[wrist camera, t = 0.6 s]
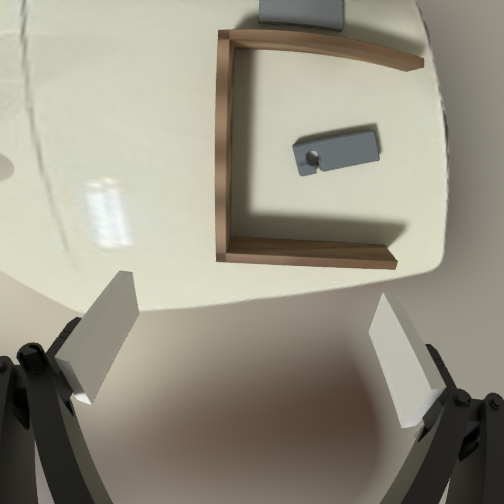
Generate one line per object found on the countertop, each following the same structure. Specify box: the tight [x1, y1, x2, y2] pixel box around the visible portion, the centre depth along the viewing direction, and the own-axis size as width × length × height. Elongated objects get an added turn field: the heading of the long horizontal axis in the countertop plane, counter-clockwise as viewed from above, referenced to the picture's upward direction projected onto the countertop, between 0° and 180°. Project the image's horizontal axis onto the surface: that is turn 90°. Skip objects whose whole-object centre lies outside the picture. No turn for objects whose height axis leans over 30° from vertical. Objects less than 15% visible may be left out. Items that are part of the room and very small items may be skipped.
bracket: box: [292, 130, 380, 176], centre depth 33 cm, size 4×10×2 cm, turn 106°
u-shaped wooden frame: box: [215, 29, 424, 270], centre depth 31 cm, size 27×23×5 cm
